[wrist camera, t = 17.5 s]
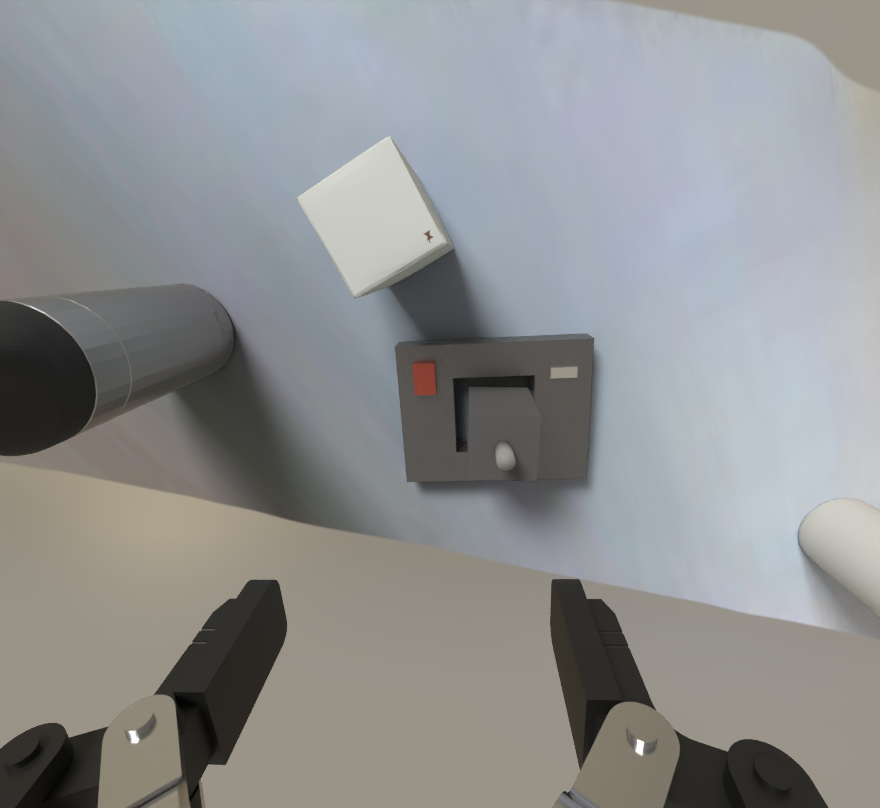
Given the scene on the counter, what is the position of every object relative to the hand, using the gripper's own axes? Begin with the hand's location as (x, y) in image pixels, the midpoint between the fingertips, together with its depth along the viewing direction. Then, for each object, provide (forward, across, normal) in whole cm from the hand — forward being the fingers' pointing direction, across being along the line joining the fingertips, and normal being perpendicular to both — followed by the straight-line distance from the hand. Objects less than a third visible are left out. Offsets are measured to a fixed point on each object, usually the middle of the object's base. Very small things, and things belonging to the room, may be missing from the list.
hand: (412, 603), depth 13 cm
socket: (+32, -4, +5) cm, 33 cm away
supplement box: (+32, +4, -12) cm, 35 cm away
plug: (+32, -4, +5) cm, 33 cm away
